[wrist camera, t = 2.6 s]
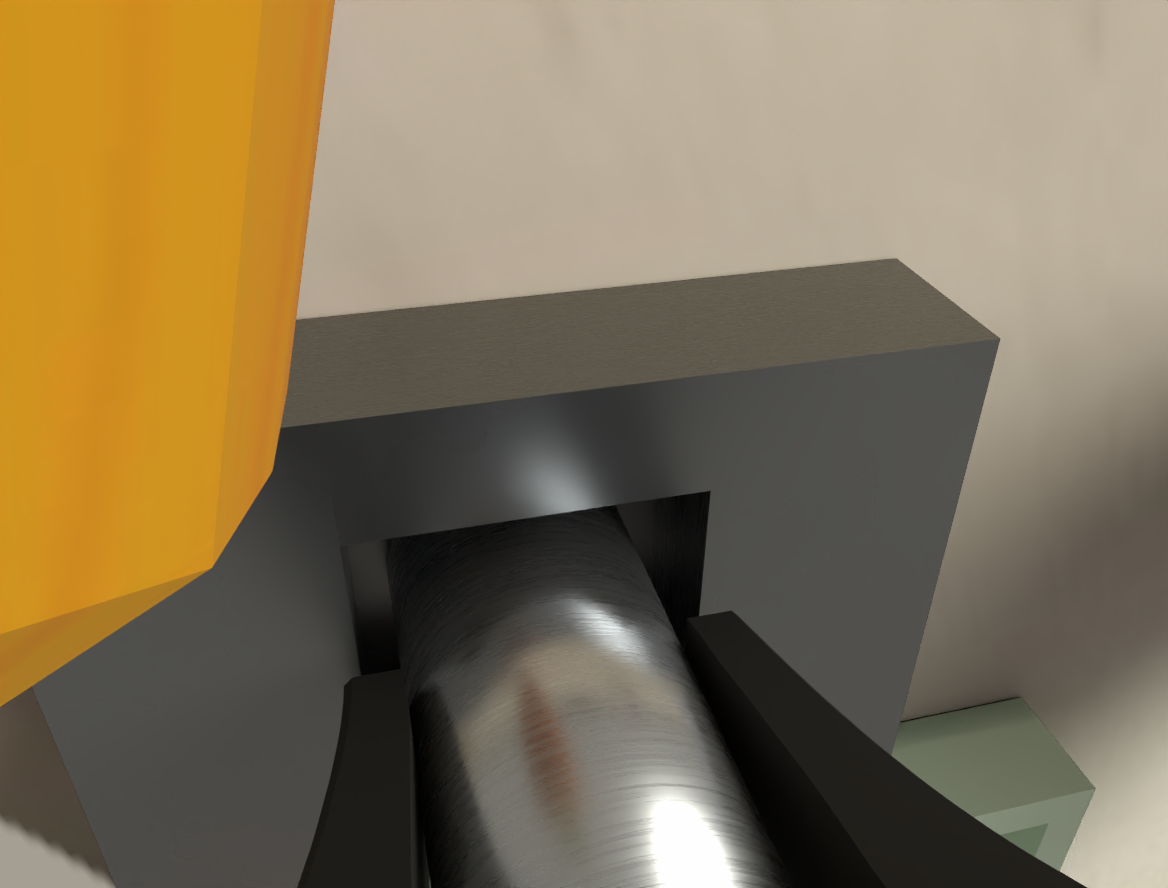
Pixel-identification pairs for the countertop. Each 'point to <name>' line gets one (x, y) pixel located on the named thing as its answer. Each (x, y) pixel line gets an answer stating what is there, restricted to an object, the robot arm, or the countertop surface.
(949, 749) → the tray
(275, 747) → the hitch block
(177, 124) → the carrot
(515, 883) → the pin
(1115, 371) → the countertop surface
